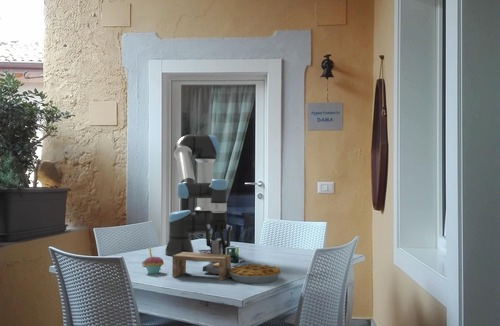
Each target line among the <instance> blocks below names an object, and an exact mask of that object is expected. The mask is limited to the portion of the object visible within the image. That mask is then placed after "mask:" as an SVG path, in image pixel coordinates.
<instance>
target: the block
mask: <svg viewBox="0 0 500 326" xmlns="http://www.w3.org/2000/svg"><path fill="white" fill-rule="evenodd" d="M213 267H219V263H215V264H213ZM212 274H214V275H215V274H216V275H219V272H212Z"/></svg>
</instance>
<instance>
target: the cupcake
mask: <svg viewBox="0 0 500 326" xmlns="http://www.w3.org/2000/svg"><path fill="white" fill-rule="evenodd" d="M148 247H149V249H148V250H149V257H147V258H145V259H144V260H143V261H144V265H145V266H146V271H147V274H149V275H152V274H153V275H155V274H159V273H160V270H161V267H162V266H163V265H164V260H163V259H162V258H161V257H160V256H153V255H152V248H151V247H150V245H149V246H148ZM145 266H144V267H145Z"/></svg>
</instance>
